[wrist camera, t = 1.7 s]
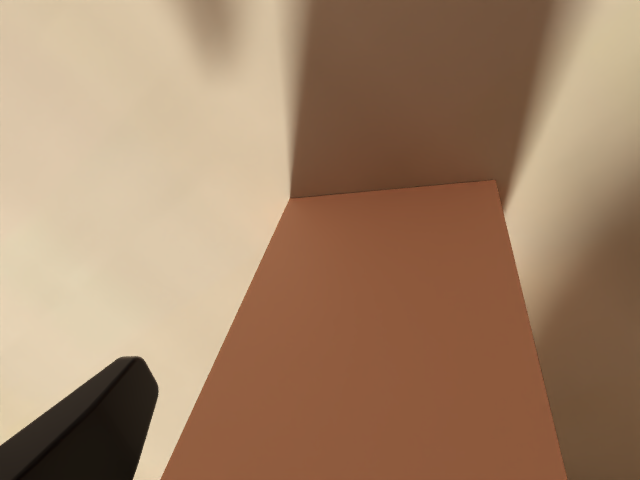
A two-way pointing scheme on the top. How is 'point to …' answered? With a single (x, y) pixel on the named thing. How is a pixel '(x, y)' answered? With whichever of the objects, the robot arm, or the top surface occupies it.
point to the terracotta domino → (378, 350)
